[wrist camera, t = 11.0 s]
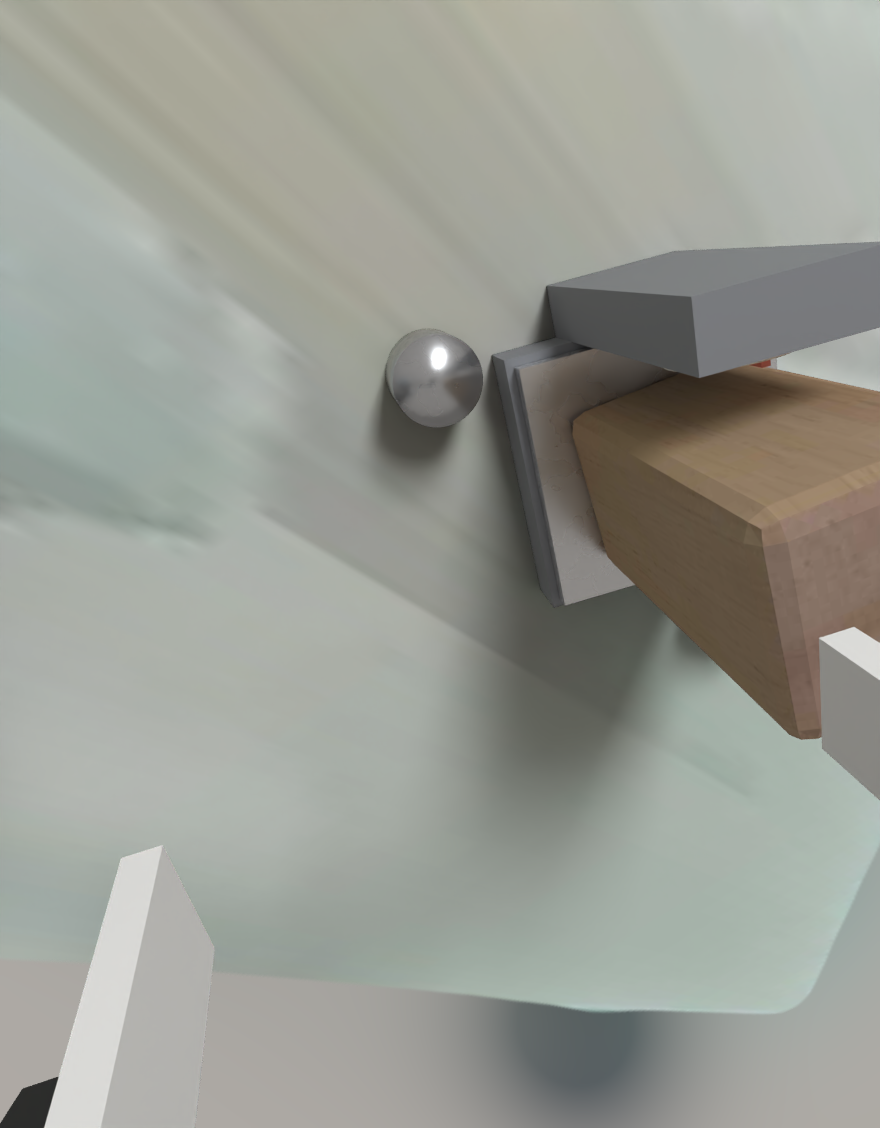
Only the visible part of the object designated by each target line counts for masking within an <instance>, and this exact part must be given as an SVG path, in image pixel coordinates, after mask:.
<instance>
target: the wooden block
mask: <svg viewBox="0 0 880 1128" xmlns="http://www.w3.org/2000/svg"><path fill="white" fill-rule="evenodd" d="M572 435H573V439H574V442H575V446H576V449H577V453H578V456H579V460H580V463H581V467H582V470H583V474H584V477H585V481H586V484H587V487H588V491H589V494H590V498H591V501H592V505H593V508H594V512H595V515H596V519H597V522H598V526H599V529H600V533H601V536H602V540H603V543H604V546H605V550H606V553H607V557H608V558H609V559H610V560H611V561H612V563H613V564H614V565H615V566H616V567H617V568H618V569H619V570H620V571H621V572H622V573H623V574H625V575H626V576H627V577H628V578H629V579H630V580H631V581H632V582H633V583H634V584H635V585H636V586H637V587H638V588H639V589H640V590H641V591H642V592H643V593H644V594H645V595H646V596H647V597H648V598H649V599H650V600H651V601H652V602H653V603H654V604H655V605H656V606H657V607H659V608H660V609H661V610H662V611H663V612H664V613H665V614H666V615H667V616H668V617H669V618H670V619H671V620H672V621H673V622H674V623H675V624H676V625H677V626H678V627H679V628H680V629H681V630H682V631H683V632H684V633H685V634H686V635H687V636H688V637H689V638H690V639H692V640H693V641H694V642H695V643H696V644H697V645H698V646H699V647H700V648H701V649H702V650H703V651H704V652H705V653H706V654H707V655H708V656H709V657H710V658H711V659H712V660H713V661H714V662H715V663H716V664H717V665H718V666H719V667H720V668H721V669H722V670H723V671H725V672H726V673H727V674H728V675H729V676H730V677H731V678H732V679H733V680H734V681H735V682H736V683H737V684H738V685H739V686H740V687H741V688H742V689H743V690H744V691H745V692H746V693H747V694H748V695H749V696H750V697H751V698H752V699H753V700H754V701H755V702H756V703H757V704H759V705H760V706H761V707H762V708H763V709H764V710H765V711H766V712H767V713H768V714H769V715H770V716H771V717H772V718H773V719H774V720H775V721H776V722H777V723H778V724H779V725H780V726H781V727H782V728H783V729H784V730H785V731H786V732H787V733H788V734H789V735H792V736H794V737H796V738H799V739H801V740H802V739H817V738H820V737H822V724H821V692H820V659H819V638H820V637H824V636H827V635H830V634H833V633H836V632H840V631H843V630H846V629H849V628H852V627H855V628H857V629H858V630H860V631H862V632H863V633H865V634H866V635H868V636H869V637H871V638H873V639H874V640H876V641H877V642H879V643H880V392H878V391H874V390H869V389H865V388H860V387H855V386H851V385H846V384H842V383H837V382H832V381H828V380H823V379H819V378H814V377H809V376H805V375H800V374H796V373H791V372H786V371H782V370H777V369H773V368H768V367H764V368H759V367H755V366H750V365H747V366H742V367H737V368H733V369H730V370H726V371H723V372H719V373H716V374H712V375H709V376H705V377H701V378H697V377H694V376H690V375H687V374H683V373H680V374H677V375H675V376H672V377H670V378H667V379H665V380H662V381H660V382H657V383H655V384H652V385H650V386H647V387H645V388H642V389H640V390H637V391H635V392H632V393H630V394H627V395H625V396H622V397H620V398H617V399H615V400H612V401H610V402H607V403H605V404H602V405H600V406H597V407H595V408H592V409H590V410H587V411H585V412H583V413H582V414H581V415H580V416H578V417H577V418H576V419H575V420H573V433H572Z"/></svg>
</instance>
